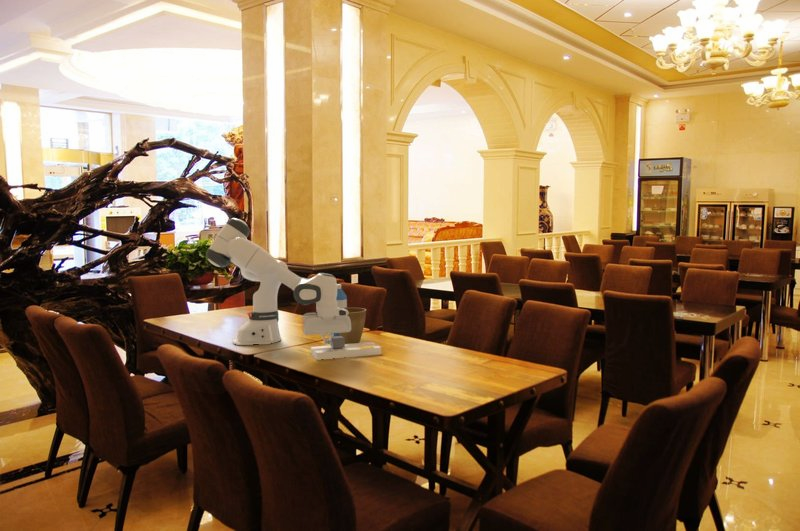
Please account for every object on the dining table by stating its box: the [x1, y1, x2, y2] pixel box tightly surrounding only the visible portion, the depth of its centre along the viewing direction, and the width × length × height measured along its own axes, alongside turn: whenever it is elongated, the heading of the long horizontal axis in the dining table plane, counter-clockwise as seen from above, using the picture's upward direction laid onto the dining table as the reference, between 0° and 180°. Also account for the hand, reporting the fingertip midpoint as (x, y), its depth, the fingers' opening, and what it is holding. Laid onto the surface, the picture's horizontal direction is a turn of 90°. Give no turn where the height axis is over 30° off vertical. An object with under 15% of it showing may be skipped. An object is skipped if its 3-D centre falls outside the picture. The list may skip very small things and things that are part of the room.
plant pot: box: [339, 307, 367, 344], centre depth 284 cm, size 15×15×16 cm
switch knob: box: [329, 336, 345, 349], centre depth 264 cm, size 5×5×6 cm
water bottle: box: [328, 283, 348, 337], centre depth 305 cm, size 9×9×25 cm
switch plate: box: [310, 341, 382, 361], centre depth 266 cm, size 28×12×3 cm, turn 110°
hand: (327, 343), depth 262 cm, fingers closed
